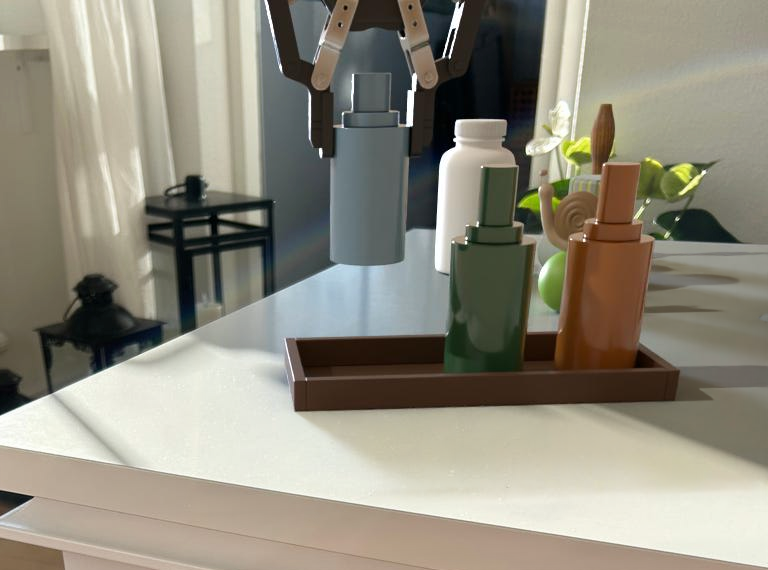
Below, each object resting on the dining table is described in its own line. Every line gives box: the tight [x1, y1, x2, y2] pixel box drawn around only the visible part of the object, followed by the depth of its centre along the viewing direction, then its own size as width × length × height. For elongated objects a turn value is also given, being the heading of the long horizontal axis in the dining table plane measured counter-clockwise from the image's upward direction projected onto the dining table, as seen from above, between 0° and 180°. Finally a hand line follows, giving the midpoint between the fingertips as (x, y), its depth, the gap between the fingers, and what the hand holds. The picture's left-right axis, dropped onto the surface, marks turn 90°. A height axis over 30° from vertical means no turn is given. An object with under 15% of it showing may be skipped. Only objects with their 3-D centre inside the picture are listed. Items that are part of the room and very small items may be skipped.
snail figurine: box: [537, 168, 598, 313], centre depth 93 cm, size 5×6×12 cm
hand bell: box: [589, 103, 616, 175], centre depth 117 cm, size 8×8×16 cm
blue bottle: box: [329, 72, 410, 267], centre depth 66 cm, size 5×5×11 cm
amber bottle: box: [553, 161, 656, 371], centre depth 70 cm, size 6×6×14 cm
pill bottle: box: [434, 118, 516, 275], centre depth 110 cm, size 8×8×15 cm
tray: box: [283, 330, 681, 413], centre depth 73 cm, size 26×12×3 cm, turn 93°
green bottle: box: [443, 164, 537, 374], centre depth 69 cm, size 6×6×14 cm
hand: (370, 155), depth 65 cm, fingers closed on blue bottle, 5 cm apart
